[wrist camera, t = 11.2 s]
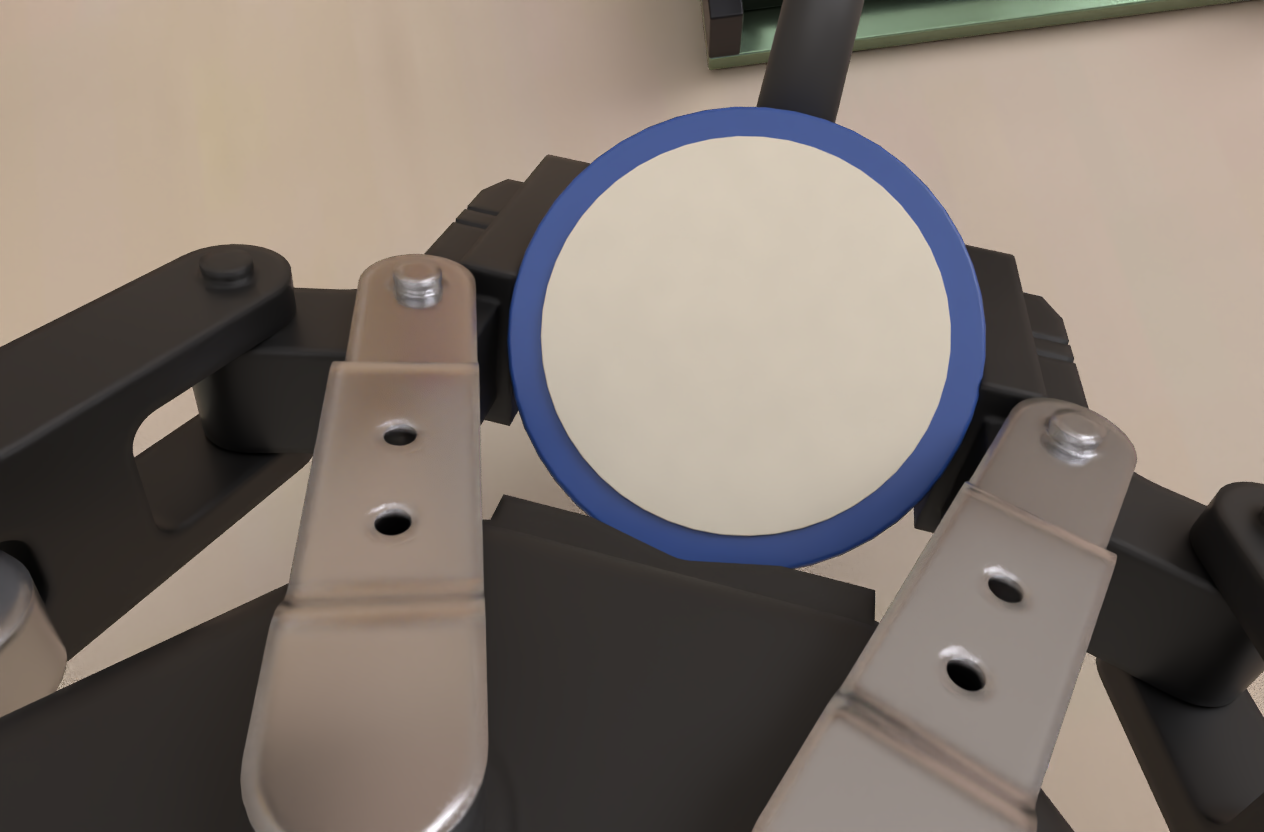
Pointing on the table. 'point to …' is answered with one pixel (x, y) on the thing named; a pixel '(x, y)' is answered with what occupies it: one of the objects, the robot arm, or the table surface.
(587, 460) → the blue cylinder with handle
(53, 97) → the table surface
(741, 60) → the dish rack
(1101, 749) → the table surface
